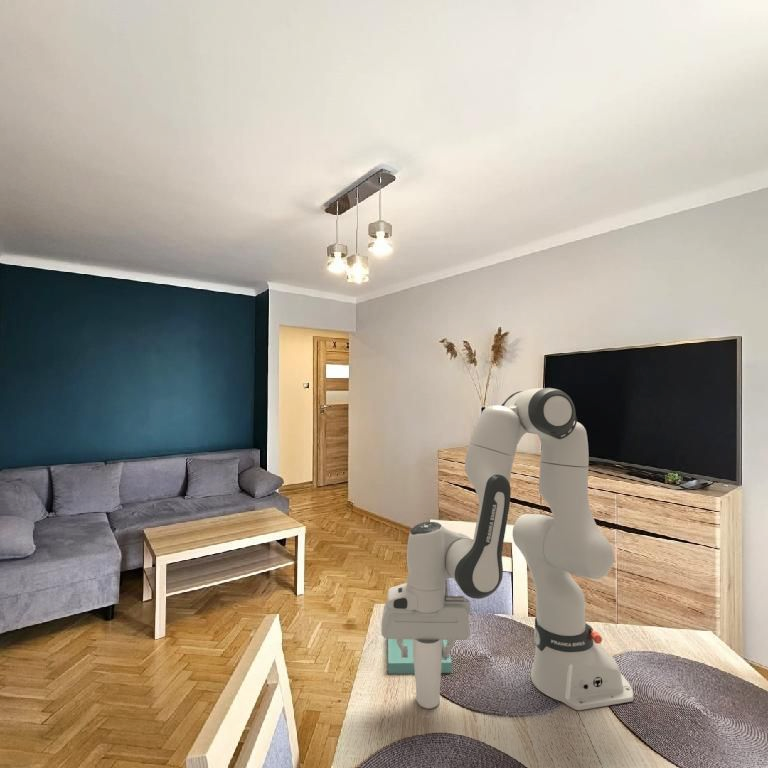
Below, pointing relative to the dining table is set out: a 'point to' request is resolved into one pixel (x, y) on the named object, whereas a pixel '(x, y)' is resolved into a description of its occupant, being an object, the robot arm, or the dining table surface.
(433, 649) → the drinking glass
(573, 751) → the dining table surface
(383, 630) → the robot arm
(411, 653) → the tray
